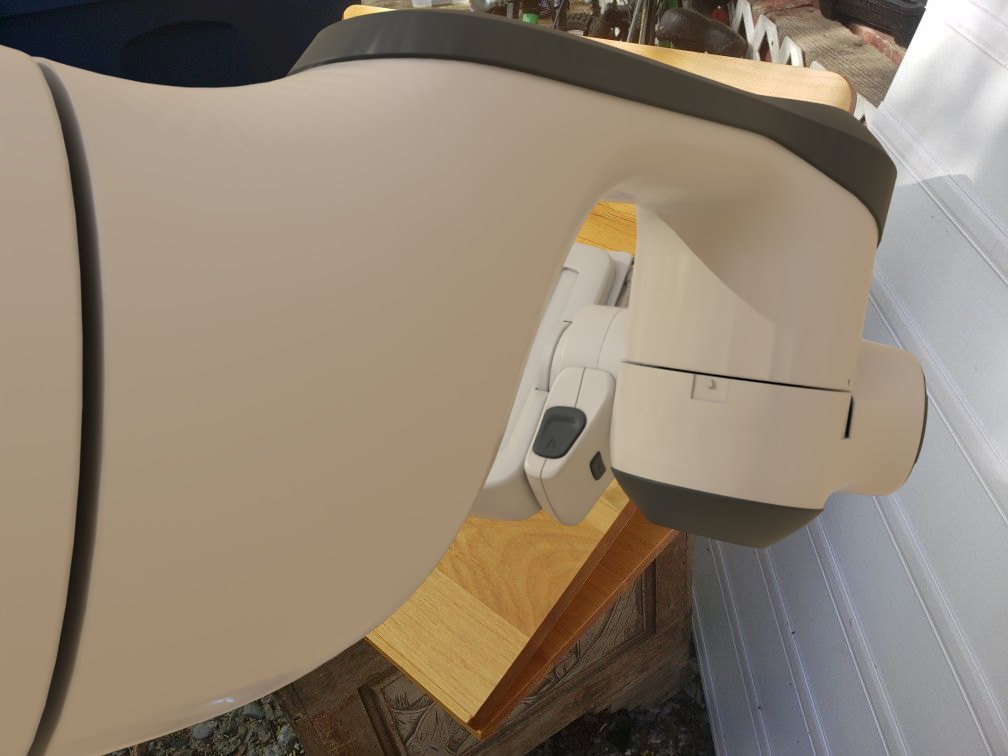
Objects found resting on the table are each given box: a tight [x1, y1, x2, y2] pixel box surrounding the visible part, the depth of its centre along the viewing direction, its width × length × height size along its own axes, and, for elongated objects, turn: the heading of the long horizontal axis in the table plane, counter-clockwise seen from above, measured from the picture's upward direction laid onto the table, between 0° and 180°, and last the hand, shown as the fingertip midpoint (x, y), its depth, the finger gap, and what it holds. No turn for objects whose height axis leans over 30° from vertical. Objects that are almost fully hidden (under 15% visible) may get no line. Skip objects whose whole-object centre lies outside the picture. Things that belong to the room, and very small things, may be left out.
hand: (417, 350), depth 47 cm, fingers open, 8 cm apart
